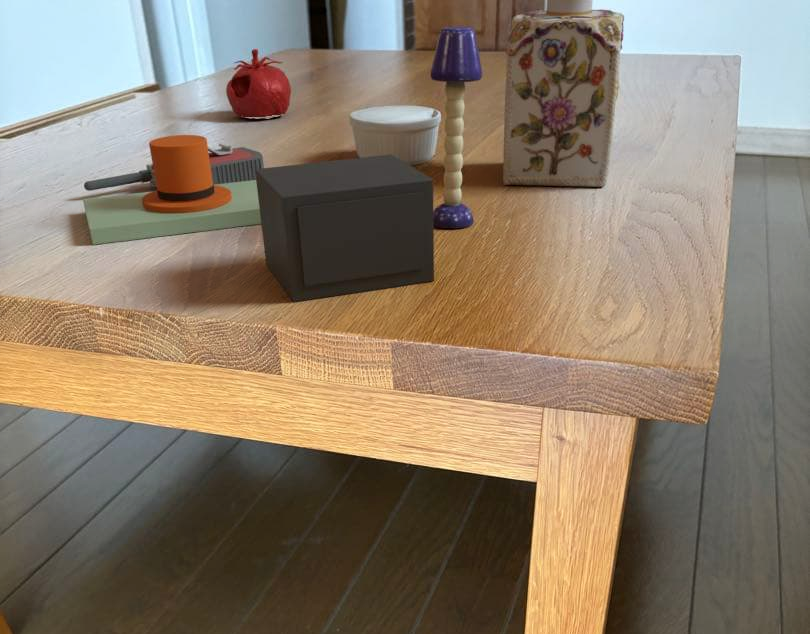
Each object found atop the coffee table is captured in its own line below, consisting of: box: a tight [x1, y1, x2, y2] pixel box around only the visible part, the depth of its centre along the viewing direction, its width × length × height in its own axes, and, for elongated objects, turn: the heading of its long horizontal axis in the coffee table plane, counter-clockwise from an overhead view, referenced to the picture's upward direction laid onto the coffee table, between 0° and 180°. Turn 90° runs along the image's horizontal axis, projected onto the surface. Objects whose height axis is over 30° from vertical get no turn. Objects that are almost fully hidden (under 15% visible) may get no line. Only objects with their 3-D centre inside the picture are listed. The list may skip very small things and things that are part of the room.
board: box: [82, 180, 261, 246], centre depth 91 cm, size 20×12×2 cm, turn 110°
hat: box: [142, 134, 232, 213], centre depth 89 cm, size 9×9×6 cm
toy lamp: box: [430, 26, 483, 229], centre depth 82 cm, size 5×5×17 cm
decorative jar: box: [502, 0, 625, 188], centre depth 96 cm, size 12×12×18 cm
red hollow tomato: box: [225, 48, 292, 117], centre depth 135 cm, size 10×10×9 cm
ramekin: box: [349, 105, 442, 167], centre depth 109 cm, size 11×11×5 cm
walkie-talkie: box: [83, 142, 265, 192], centre depth 100 cm, size 9×4×20 cm
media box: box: [255, 155, 435, 303], centre depth 73 cm, size 12×10×8 cm
